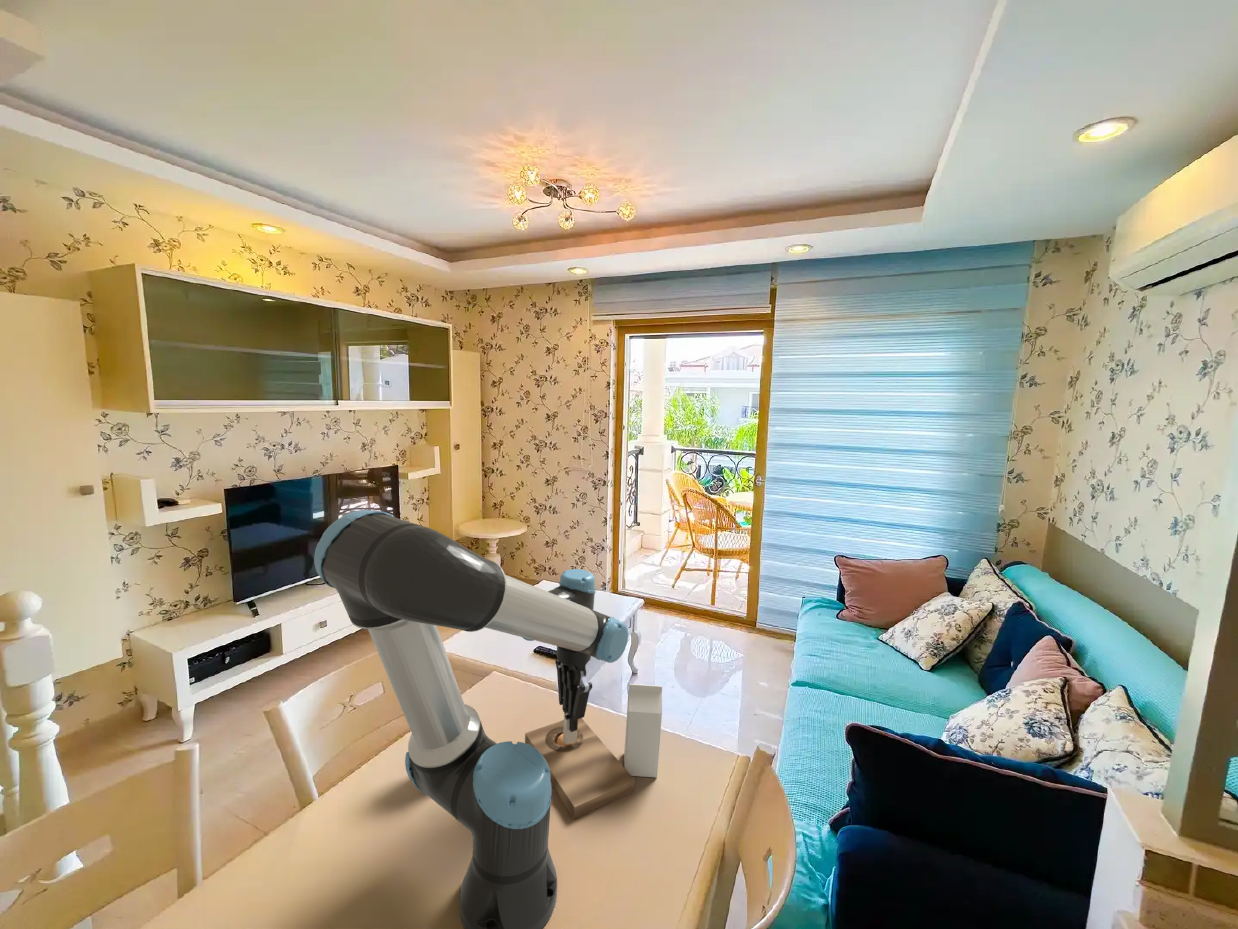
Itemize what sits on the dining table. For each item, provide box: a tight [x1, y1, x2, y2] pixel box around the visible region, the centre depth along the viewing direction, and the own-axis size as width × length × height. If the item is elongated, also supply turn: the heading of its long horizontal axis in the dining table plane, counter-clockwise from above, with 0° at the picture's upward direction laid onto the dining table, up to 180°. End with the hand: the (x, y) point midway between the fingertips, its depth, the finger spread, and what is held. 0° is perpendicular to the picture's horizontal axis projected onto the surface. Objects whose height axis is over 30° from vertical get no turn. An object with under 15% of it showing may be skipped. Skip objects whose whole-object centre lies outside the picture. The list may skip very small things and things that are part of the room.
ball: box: [557, 734, 573, 746], centre depth 113 cm, size 4×4×4 cm
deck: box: [524, 718, 636, 820], centre depth 109 cm, size 24×14×2 cm, turn 33°
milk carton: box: [623, 683, 663, 778], centre depth 109 cm, size 7×7×19 cm
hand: (569, 740), depth 111 cm, fingers closed
